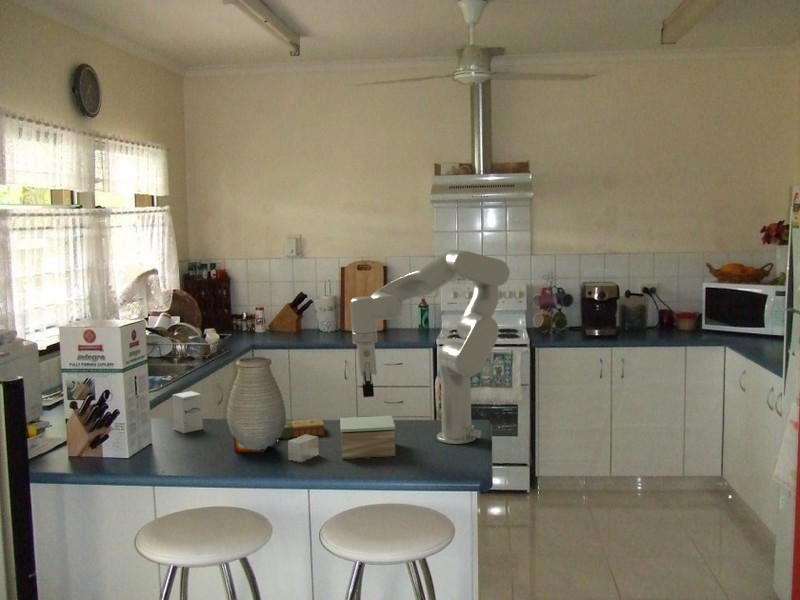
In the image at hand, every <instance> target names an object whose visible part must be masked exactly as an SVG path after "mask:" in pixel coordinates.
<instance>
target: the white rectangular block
mask: <svg viewBox="0 0 800 600" xmlns="http://www.w3.org/2000/svg"><path fill="white" fill-rule="evenodd" d="M287 449H288V452H287V453H288V454H287V455H288V461H291V460H293V462H295V461H297V462H296V463H300V462H302V463H304V462H306V461H305V460H307V459H309V460H311V459H313V458H312V457H314V456H316V457H318V456H317V455H319V436H312V435H307V434H305V435H302V436H300V437H297V438H291V439H289V440H287ZM319 456H320V455H319ZM310 458H311V459H310ZM314 458H315V457H314ZM303 461H304V462H303ZM307 461H308V460H307Z"/></svg>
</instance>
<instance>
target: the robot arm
mask: <svg viewBox="0 0 800 600" xmlns="http://www.w3.org/2000/svg"><path fill="white" fill-rule="evenodd" d="M510 272H511V271H510V268H509V266H508V264H507V263H506V262H505V261H504V260H502V259H499V258H494V257H491V256H486V255H483V254H479V253H475V252H471V251H469V250H462V249H450V250H448V251H446V252H444V253H442V254H440V255H439V256H438V257H435V258H434V259H433V260H431V261H430V262H428V263H427V264H425V265H423V266H421V267H420V268H418V269H417V270H415V271H413V272H410V273H407V274H406V275H404V276H402V277H399V278H397V279H395V280H392V281H390V282H388V283H387V284H386V285H384V286H382V287H380V288H379V289H378V290H376V291H374V292H373V293H372V294H371V295H370V296H369V295H368V296H355V297H353V298H352V299H351V300H350V301H349V302H350V303H349V307H350V321H351V323H350V324H351V334H352V337H351V338H352V344H353V345H356V351H357V352H356V353H357V362H358V369H359V372H360V376H361V377H362V395H363V398H373V397H375V393H374V392H375V391H374V390H375V389H374V382H373V375H374V376H375V377H376V376H378V372H377V371H378V370H377V359H376V358H377V357H376V348H375V343H378V329H377V320H393V319H396V318H398V317H399V316H400V315H401V314H402V312H403V309H404V308H403V307H404V305H403V303H404V302H405V301H407V300H411V299H413V298H414V299H415V298H418V297H419V298H420V297H425V296H429V295H431V294H433V293H435V292H436V291H437V290H439V289H441V288H442V287H444V286H445V285H447V284H448V283H451V282H452V281H453V280H455V279H456V278H460V279H465V280H468V281H472V285H473V293H472V296H471V298H470V300H469V302H468V304H467V306H466V308H465V309H464V312H463V314H462V315H461V317H460V319H459V321H458V323H457V325H456V326H457V327H456V333H457V335H458V336H459V337H460V338H461V339H462V340H463V342H459V341H455V340H454V341H447V342H446V343H444V344H443V345H442V346H441V347H440V349H439V351H438V354H437V363H438V369H439V374H440V375H439V376H440V398H441V399H440V402H441V404H440V405H441V409H440V410H441V413H440V414H441V431H440V432H439V433H437V434H436V439H437V440H438V441H439V442H442V443H445V444H451V445H462V444H468V443H471V442H474V441H475V440H476V439H481V438H482V437H481V436H482V431H481V430H479V429H475V425H474V424H472V398H471V396H472V395H471V394H472V393H471V391H472V387H471V386H472V385H471V379H470V378H471V377H474V376H476V375H477V374H478V373H480V371H481V370H482V368H483V367H484V365H485V363H486V361H487V360H488V358H489V356H490V354H491V352H492V350H493V348H494V346H495V344H496V343H497V340H498V337H499V331H500V330H499V326H498V323H497V321H496V320H495V319H494V318H493V315H494V313H495V311H496V308H497V307H498V303H499V299H500V298H499V297H500V294H499V287H500V286H502V285H504V284H506V282H508V280H509V277H510V274H511V273H510Z"/></svg>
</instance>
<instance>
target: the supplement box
mask: <svg viewBox="0 0 800 600" xmlns="http://www.w3.org/2000/svg"><path fill="white" fill-rule="evenodd" d="M171 397H172V411H173V430H175V431H177V432H179V433H181V434H186V433H191V432H196V431H201V430H203V427H204V425H203V408H202V406H203V405H202V394H201V393H199V392H196V391H192V390H191V391H184V392H180V393H179V392H178V393H173V394H172V396H171Z"/></svg>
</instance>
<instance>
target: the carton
mask: <svg viewBox="0 0 800 600" xmlns="http://www.w3.org/2000/svg"><path fill="white" fill-rule="evenodd" d="M285 421H286V425H285V428H284V430H283V432H282V434H281V436H280V439H279V440H281V438H284V439H291V438H290V437H300V436H302V435H305V434H307V435H312V436H315V435H323V436H325V426H324V425H325V424H324V420H323V418H322V417H321V418H320V417H318V418H307V419H297V420H296V419H294V420H285Z"/></svg>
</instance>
